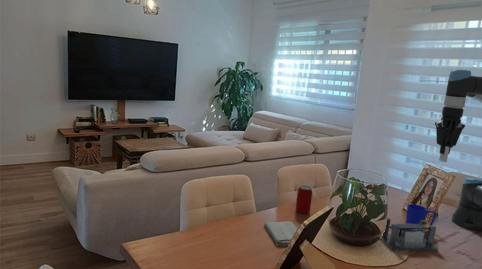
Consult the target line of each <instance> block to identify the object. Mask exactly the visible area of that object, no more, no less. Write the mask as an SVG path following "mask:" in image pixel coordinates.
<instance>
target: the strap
mask: <svg viewBox="0 0 482 269" xmlns="http://www.w3.org/2000/svg"><path fill="white" fill-rule="evenodd" d="M429 224H430V223H426V224H406V223H401V224H397V225H399V227H398V229H425V230H429V226H430V225H429ZM392 225H393V223H391V222H390V223H387V226H388V227H389V230H392Z"/></svg>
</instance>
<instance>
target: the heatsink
mask: <svg viewBox="0 0 482 269" xmlns="http://www.w3.org/2000/svg"><path fill="white" fill-rule="evenodd" d="M386 218H387V223H390V224H391V219H390V218H389V217H386ZM392 224H393V225H392V229H390V228H389V227H388V226H387V225H386V229H385V232H384V233H383V236H382V238H381V240H382V241H383V242H384V243H385V244H384V243H383V242H382V241H381V240H380V241H381V242H382V243H383V244H384V245H385V246H387V247H388V248H389V249H390V250H391V251H438V250H439V247H437V246H436V245H435V244H434V240H435V235H436V232H437V230H436V229H437V226H436V225H435V226H434V225H431V226H429V229H427V231H428V232H427V235H426V238H424V237H425V233H426V229H398V227H399V225H397V224H402V223H398V222H397V223H392ZM420 224H428V223H427V220H426V219H425V220H420ZM389 230H390V231H391V232H390V233H389Z"/></svg>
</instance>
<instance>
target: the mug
mask: <svg viewBox="0 0 482 269" xmlns="http://www.w3.org/2000/svg"><path fill="white" fill-rule="evenodd" d="M429 213H432V214H433V217H432V219H431V221H430V223H428V224H429V225H430V226H433V224H434V222H435V219H436V216H437V212H436V211H433V210H430V209H429V210H428V208H427V207H425V206H423V205H420V204H415V203H409V204H407V205H406V214H405V215H406V216H405V218H406V219H405V224H420V220H426V218H427V215H428V214H429Z"/></svg>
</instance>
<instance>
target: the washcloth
mask: <svg viewBox="0 0 482 269" xmlns="http://www.w3.org/2000/svg"><path fill="white" fill-rule="evenodd" d="M263 226H264V227H265V229H266V231H267V232H268V234H269V235H270V237H272V239H273V241H274V243H275V245H276V246H277V247H278V246H284V247H286V246H288V244H289V242H290V240H291V238H292V237H293V235H294V233H295V232H296V230H297V229H298V227H297V226H295V224H294V223H293V222H292V221H288V220H287V221H269V222H268V221H267V222H264V225H263Z"/></svg>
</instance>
